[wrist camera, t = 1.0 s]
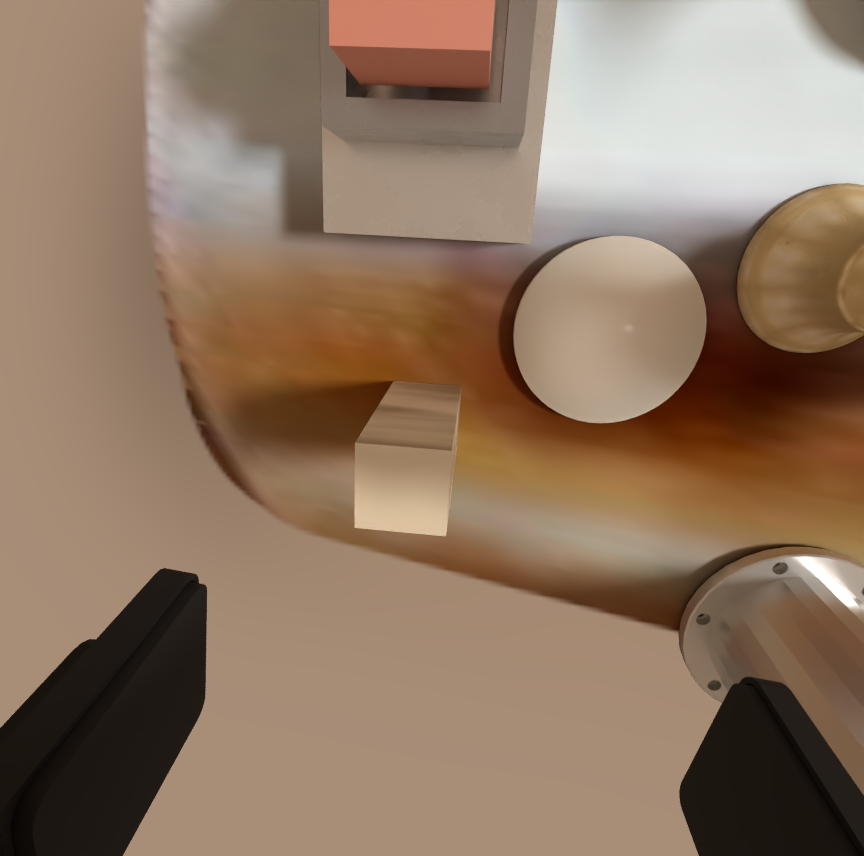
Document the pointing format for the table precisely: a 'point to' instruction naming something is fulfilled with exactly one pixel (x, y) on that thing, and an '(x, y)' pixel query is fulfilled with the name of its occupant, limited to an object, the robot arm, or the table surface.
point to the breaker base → (440, 141)
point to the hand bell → (807, 272)
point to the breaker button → (414, 41)
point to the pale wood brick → (408, 460)
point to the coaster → (609, 329)
